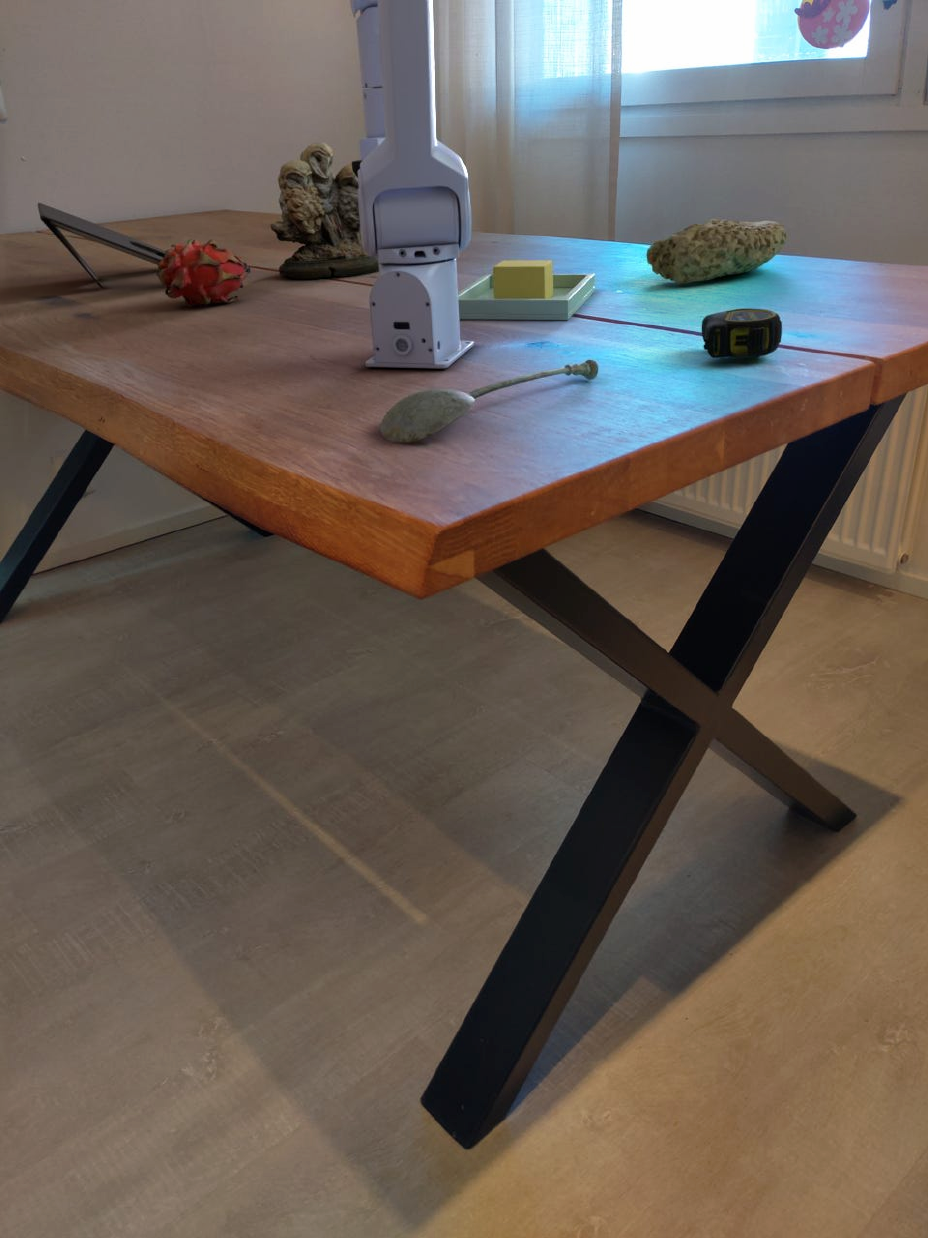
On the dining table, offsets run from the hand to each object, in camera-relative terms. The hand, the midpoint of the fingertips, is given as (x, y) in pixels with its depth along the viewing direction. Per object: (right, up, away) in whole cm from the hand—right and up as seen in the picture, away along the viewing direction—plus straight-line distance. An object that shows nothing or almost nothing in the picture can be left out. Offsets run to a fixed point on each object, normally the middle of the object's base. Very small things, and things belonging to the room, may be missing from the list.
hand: (400, 228), depth 110 cm
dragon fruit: (-25, -3, +18) cm, 31 cm away
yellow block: (+14, -6, +7) cm, 16 cm away
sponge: (+40, +1, +18) cm, 44 cm away
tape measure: (+31, -19, -20) cm, 41 cm away
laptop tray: (-42, +7, +39) cm, 57 cm away
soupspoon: (+10, -26, -30) cm, 41 cm away
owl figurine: (-12, +8, +37) cm, 39 cm away
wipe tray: (+14, -6, +7) cm, 17 cm away
